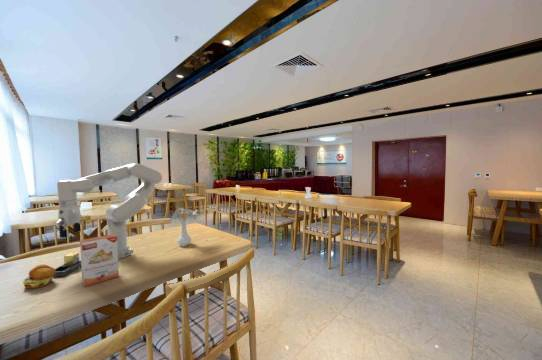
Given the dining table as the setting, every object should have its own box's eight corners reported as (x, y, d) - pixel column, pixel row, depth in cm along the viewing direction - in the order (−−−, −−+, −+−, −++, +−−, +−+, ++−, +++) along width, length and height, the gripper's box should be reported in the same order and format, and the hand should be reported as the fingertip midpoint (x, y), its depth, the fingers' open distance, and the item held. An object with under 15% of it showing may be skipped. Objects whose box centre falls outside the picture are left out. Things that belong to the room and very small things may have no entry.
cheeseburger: (35, 279, 117) (40, 259, 117) (58, 283, 118) (63, 264, 118) (15, 290, 107) (20, 268, 107) (41, 294, 108) (45, 273, 108)
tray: (84, 264, 134) (83, 260, 134) (64, 276, 120) (63, 271, 120) (70, 265, 134) (70, 260, 133) (48, 277, 120) (48, 272, 119)
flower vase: (201, 242, 170) (200, 207, 168) (179, 250, 155) (178, 212, 153) (189, 239, 177) (188, 206, 175) (167, 246, 162) (165, 210, 160)
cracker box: (84, 287, 109) (81, 242, 108) (82, 282, 114) (79, 239, 112) (119, 276, 119) (117, 235, 118) (116, 273, 123) (114, 233, 122)
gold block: (80, 264, 133) (79, 252, 132) (74, 268, 128) (73, 255, 128) (70, 265, 132) (69, 252, 132) (64, 268, 128) (63, 256, 127)
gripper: (62, 205, 120) (65, 239, 121) (86, 200, 137) (89, 229, 138) (46, 206, 119) (49, 239, 120) (72, 200, 136) (75, 230, 138)
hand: (70, 234), depth 129 cm, fingers open, 9 cm apart
